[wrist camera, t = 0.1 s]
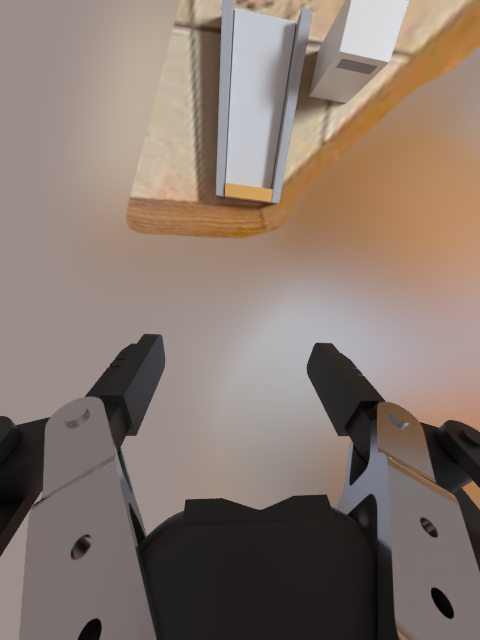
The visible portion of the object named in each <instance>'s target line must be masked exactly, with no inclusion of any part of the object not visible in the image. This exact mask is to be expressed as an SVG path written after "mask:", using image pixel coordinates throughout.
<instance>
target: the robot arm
mask: <svg viewBox="0 0 480 640" xmlns="http://www.w3.org/2000/svg"><path fill="white" fill-rule="evenodd" d="M164 367H165V354H164V346H163V339H162V336H161V335H158V334H144V335H143V336H142V337H141V339H140V340H139V342H138V343H137V344H131V345H129V346H128V347H126V348H124V349H123V350H122V351H121V352H120V353H119V354H118V356H117V357H116V358H115V360H114V361H113V362H112V363H111V364H110V367H108V368H107V369H106V371H105V372H104V373H103V375H102V376H101V377H100V378H99V380H98V381H97V382H96V383H95V385H94V386H93V387H92V388H91V390H90V391H89V392H88V394H87V395H86V396H85V397H83V398H79V399H76V400H74V401H72V402H69V403H68V404H66V405H64V406H63V407H61V408H60V409H59V410H57V411H56V412H55V413H54V414H53V415H52V416H51V417H49V418H45V419H40V420H37V421H32V422H28V423H24V424H20V425H15V424H14V423H13V422H12V421H11V419H10V418H8V417H5V416H0V556H1V555H2V553H3V551H4V550H5V548H6V547H7V545H8V544H9V542H10V540H11V539H12V537H13V536H14V534H15V532H16V531H17V529H18V528H19V526H20V524H21V523H22V521H23V520H24V518H25V516H26V515H27V513H28V512H29V510H30V509H31V507H32V505H33V504H34V502H35V501H36V499H37V497H38V496H39V494H40V492H42V491H43V495H42V498H41V500H40V501H39V502H37V503H36V504H34V506H33V507H32V509H31V512H30V515H29V520H28V530H27V543H26V558H25V570H24V584H23V596H22V609H21V623H20V637H19V640H480V510H479V508H478V507H477V506H476V505H475V504H474V502H473V501H472V500H471V499H470V497H469V496H468V495H467V494H466V492H465V491H464V490H463V489H462V487H464V486H465V485H467V484H468V483H470V482H472V481H474V482H475V483H476V484H477V486H478V487H480V432H479V431H477V430H475V429H474V428H472V427H470V426H468V425H466V424H464V423H461V422H458V421H454V420H448V421H447V422H445V423H444V424H443V425H442V426H441V427H440V428H438V427H435V426H431V425H428V424H424V423H421V422H419V421H418V420H417V419H416V418H415V417H414V416H413V415H412V414H411V413H410V412H409V411H407V410H405V409H404V408H402V407H401V406H399V405H396V404H394V403H391V402H386V401H385V400H384V399H383V398H382V397H381V395H380V394H379V393H378V392H377V391H376V389H375V388H374V387H373V386H372V385H371V384H370V382H369V381H368V380H367V379H366V378H365V377H364V376H363V374H362V373H361V372H360V371H359V370H358V369H357V367H356V366H355V365H354V364H353V362H352V361H351V360H350V359H348V358H347V357H346V356H344V355H343V354H342V353H340V352H339V351H338V350H337V349H336V348H335V346H334V345H333V344H331V343H316V344H315V345H314V347H313V350H312V353H311V356H310V358H309V361H308V364H307V374H308V376H309V378H310V380H311V382H312V384H313V386H314V388H315V390H316V392H317V394H318V396H319V398H320V400H321V402H322V404H323V406H324V408H325V410H326V412H327V414H328V416H329V418H330V420H331V422H332V424H333V426H334V428H335V430H336V432H337V434H338V436H350V438H351V440H352V442H351V443H350V445H349V451H348V459H347V467H346V475H345V483H344V489H343V493H342V496H341V498H340V500H339V503H338V506H337V509H335V508H332V507H331V506H330V503H329V500H328V497H327V495H304V496H292V497H290V498H288V499H286V500H283V501H281V502H279V503H277V504H274V505H272V506H270V507H267V508H265V509H262V510H257V509H254V508H251V507H247V506H244V505H241V504H238V503H235V502H232V501H229V500H226V499H223V498H218V499H189V500H186V501H185V509H184V511H182V512H180V513H177V514H176V515H173V516H172V517H170V518H168V519H167V520H165V521H164V522H163V523H161V524H160V525H159V526H157V527H156V528H155V529H154V530H153V531H152V532H151V533H150V534H149V535H148V536H147V535H146V532H145V528H144V524H143V521H142V517H141V514H140V511H139V508H138V505H137V502H136V499H135V496H134V492H133V488H132V485H131V481H130V477H129V474H128V470H127V466H126V463H125V459H124V455H123V452H122V448H121V445H122V443H123V441H124V439H125V437H126V436H136V435H137V433H138V430H139V428H140V425H141V423H142V421H143V418H144V416H145V413H146V411H147V409H148V406H149V404H150V402H151V399H152V397H153V394H154V392H155V390H156V387H157V385H158V382H159V380H160V377H161V375H162V373H163V370H164Z"/></svg>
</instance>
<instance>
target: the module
mask: <svg viewBox="0 0 480 640" xmlns="http://www.w3.org/2000/svg"><path fill="white" fill-rule="evenodd" d="M408 2H409V0H346V1H345V2H344V4H343V6H342V8H341V10H340V12H339V13H338V15H337V17H336V19H335V21H334V23H333V25H332V26H331V28H330V30H329V32H328V34H327V36H326V37H325V39H324V41H323V43H322V45H321V47H320V48H319V50H318V54H317V60H316V65H315V70H314V75H313V80H312V85H311V90H310V95H309V96H310V97H315V98H320V99H326V100H331V101H336V102H341V103H347V102H348V101H349V100H350V99H352V98H353V97H354V96H355V95H356V94H357V93H358V92H359V91H360V90H361V89H362V88H363V87H364V86H365V85H366V84H367V83H368V82H369V81H370V80H371V79H372V78H373V77H374V76H376V75H377V74H378V73H379V72H380V71H381V70H382V69H383V68H384V67H385V66H386V65H387V64H388V63H389V62H390V59H391V55H392V52H393V49H394V46H395V43H396V40H397V37H398V34H399V31H400V27H401V24H402V21H403V18H404V15H405V12H406V9H407V6H408Z"/></svg>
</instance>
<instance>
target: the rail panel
mask: <svg viewBox="0 0 480 640" xmlns="http://www.w3.org/2000/svg"><path fill="white" fill-rule="evenodd" d="M312 13H313V10H309V9H305V8H302V11H301V13H300V16H299V19H298V22H297V25H296V22H294V21H290V20H286V19H281V18H277V17H273V16H268V15H264V14H260V13H255V12H251V11H247V10H242V9H238V8H235V10H234V0H222V25H221V55H220V85H219V115H218V145H217V175H216V196H217V197H223V198H231V199H239V200H247V201H254V202H262V203H270V204H277V203H279V201H280V195H281V189H282V184H283V178H284V172H285V167H286V161H287V155H288V150H289V144H290V138H291V132H292V127H293V121H294V115H295V110H296V104H297V98H298V93H299V87H300V81H301V75H302V70H303V64H304V58H305V53H306V47H307V41H308V36H309V30H310V24H311V19H312Z"/></svg>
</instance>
